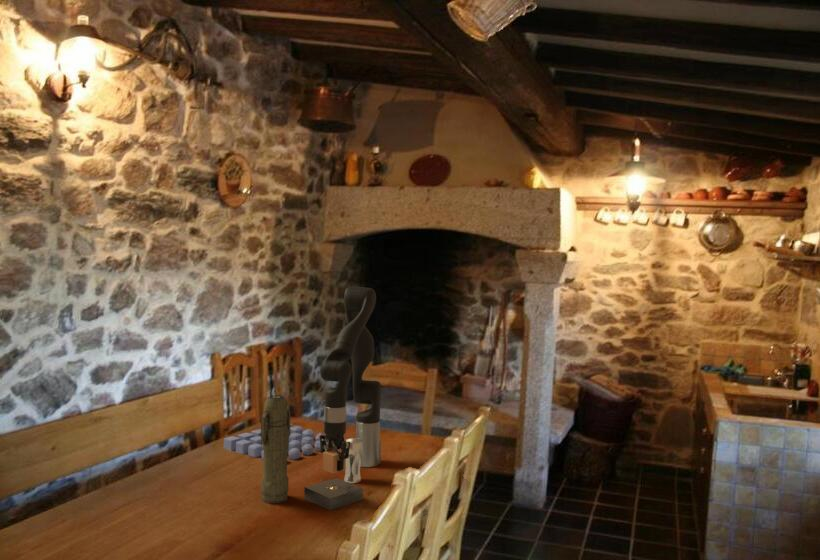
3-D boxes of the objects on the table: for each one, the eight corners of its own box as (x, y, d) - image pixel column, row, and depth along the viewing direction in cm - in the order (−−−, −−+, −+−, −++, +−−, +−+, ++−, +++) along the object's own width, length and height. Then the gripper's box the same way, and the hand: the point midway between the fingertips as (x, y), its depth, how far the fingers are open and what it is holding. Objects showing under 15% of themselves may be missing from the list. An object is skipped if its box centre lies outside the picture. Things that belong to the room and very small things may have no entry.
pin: (334, 495, 240) (334, 485, 240) (339, 497, 238) (339, 487, 238) (327, 497, 238) (327, 487, 238) (332, 499, 236) (332, 489, 236)
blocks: (284, 432, 321) (285, 422, 321) (340, 447, 300) (341, 436, 300) (223, 449, 293) (223, 438, 292) (280, 467, 272) (280, 454, 272)
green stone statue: (296, 495, 240) (297, 395, 238) (273, 506, 230) (274, 401, 228) (276, 490, 245) (277, 391, 243) (253, 501, 234) (254, 398, 233)
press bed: (336, 489, 248) (336, 477, 248) (362, 499, 238) (362, 488, 238) (304, 498, 238) (304, 487, 238) (330, 510, 228) (330, 498, 228)
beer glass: (358, 484, 253) (359, 443, 252) (340, 482, 254) (341, 442, 253) (364, 478, 260) (364, 438, 259) (346, 476, 261) (346, 437, 260)
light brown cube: (335, 466, 241) (335, 449, 241) (345, 470, 237) (345, 452, 237) (322, 469, 237) (323, 452, 237) (332, 473, 233) (333, 455, 233)
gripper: (357, 421, 234) (356, 471, 235) (330, 413, 244) (329, 461, 245) (340, 425, 229) (339, 476, 229) (313, 416, 239) (312, 465, 240)
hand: (334, 468), depth 237 cm, fingers closed on light brown cube, 5 cm apart
